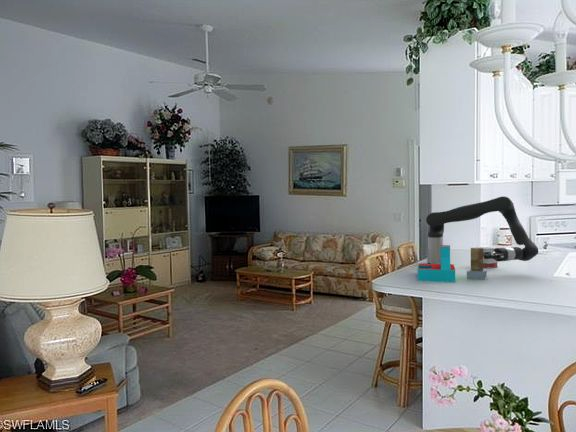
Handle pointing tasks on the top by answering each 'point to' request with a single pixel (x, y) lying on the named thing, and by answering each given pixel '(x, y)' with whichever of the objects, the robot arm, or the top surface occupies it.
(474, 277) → the plinth
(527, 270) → the top surface
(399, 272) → the top surface
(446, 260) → the building blocks toy
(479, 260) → the pillar
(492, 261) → the ink box
